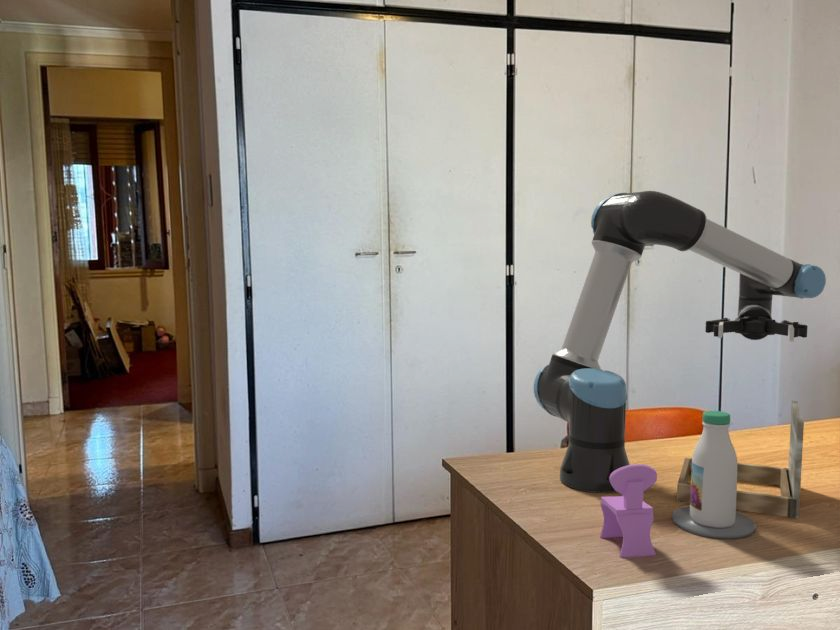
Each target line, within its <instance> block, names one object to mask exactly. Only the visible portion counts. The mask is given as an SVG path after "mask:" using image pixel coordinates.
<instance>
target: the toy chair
mask: <svg viewBox="0 0 840 630" xmlns="http://www.w3.org/2000/svg"><path fill="white" fill-rule="evenodd" d="M609 480H610V483H611V485H612V487H613V488H614V489H615V491H617V493H619V494H620V495H621V496H617V495H616V496H600V507H601V511H602V512H601V513H602V515H603V516H602V518H603V522H602V523H603V524H602V529H601V532H600V534H599V538H600V539H605V538H606V539H607V538H610V539H611V538H622V545H621V549H620V552H619V558H632V557H645V556H646V557H648V556H656V555H657V553H656V551H655V549H654V546H653V543H652V539H651V528H652V525H653V522H654V518H655V517H654V507H652V506H651V505H649V504H648V503H646V502H645V501H644V492H645V491H646V490H648V489H649V488H651V487H652V486H653V485H655V483H657V480H658V475H657V471H656V469H655V468H654V467H652V466H651V465H647V464H641V463H637V464H636V463H635V464H630V465H627V466H624V467H621V468H619V469H617V470H615V471H613V472H612V473H611V475H610V477H609Z"/></svg>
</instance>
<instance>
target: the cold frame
mask: <svg viewBox="0 0 840 630" xmlns="http://www.w3.org/2000/svg"><path fill="white" fill-rule="evenodd" d="M790 410H791V411H790V412H791V413H790V427H789V428H790V430H789V432H790V433H789V446H788V447H789V450H788V467H777V466H770V465H760V464H752V463H743V462H737V481H744V482H752V483H759V482H760V483H761V484H767V483H768V484H769V485H775V484H777V485H778V486H779V490H780V495H776V494H767V493H759V492H752V491H744V490H737V495H736V511H741V510H742V512H750V513H757V514H762V515H763V514H765V515H771V516H780V517H785V518H786V517H787V518H794V519H800V518H799V517H800V505H801V504H800V503H801V502H800V501H801V499H800V498H801V484H802V483H801V481H802V466H803V464H802V463H803V444H804V429H805V428H804V427H805V423H804V420H803V415H802V413H801V409H800V405H799V402H798V401H797V400H791V409H790ZM682 463H683V464H682V467H681V471H680V474H679V478H678V481H677V486H676V487H677V488H676V502H677V503H682V504H683V503H684V504H690V491H691V483H690V484H688V481H689V476H690V475H691V469H692V457H690V456H685V457H684V461H683V462H682Z"/></svg>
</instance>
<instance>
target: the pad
mask: <svg viewBox="0 0 840 630" xmlns="http://www.w3.org/2000/svg"><path fill="white" fill-rule="evenodd" d="M671 520H672V522H673V523H674V525H675V526H677V527H678V528H680V529H681V530H684V531H685V532H688V533H691V534H693V535H697V536H700V537H705V538H711V539H716V540H717V539H718V540H719V539H720V540H737V539H744V538H747V537H750V536H752V535H753V534H754V533H755V531H756V523H755V521H754V520H753V519H752V518H751V517H750V516H747V515H745V514H744V513H741V512H739V511H738V510H736V516H735V523H734V524H733V526H731V527H726V528H713V527H707V526H703V525H700V524H697V523H695V522H694V521H692V519H691V517H690V505H685V506H681V507H679V508H677V509H675V510H674V511H673V512H672V519H671Z"/></svg>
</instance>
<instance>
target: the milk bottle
mask: <svg viewBox="0 0 840 630" xmlns="http://www.w3.org/2000/svg"><path fill="white" fill-rule="evenodd" d="M730 424H731V414H730V413H727V412H725V411H720V410H707V411H703V413H702V425H703V428H702V433H701V435H700V437H699V438H698V442H697V443H696V444H695V447H694V448H693V449H694V450H693V453H692V457H691V458H692V469H691V474H690V485H691V491H690V503H689V506H690V517H691V519H692V521H694V522H695V523H697V524H700V525H703V526H707V527H713V528H726V527H731V526H733V524H734V523H735V516H736V511H737V510H736V495H737V491H738V489H737V488H738V487H737V485H738V480H737V463H738V456H737V452H736V449H735V447H734V444H733V443H732V439H731V436H730V433H729V428H730V427H731V425H730Z"/></svg>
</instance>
